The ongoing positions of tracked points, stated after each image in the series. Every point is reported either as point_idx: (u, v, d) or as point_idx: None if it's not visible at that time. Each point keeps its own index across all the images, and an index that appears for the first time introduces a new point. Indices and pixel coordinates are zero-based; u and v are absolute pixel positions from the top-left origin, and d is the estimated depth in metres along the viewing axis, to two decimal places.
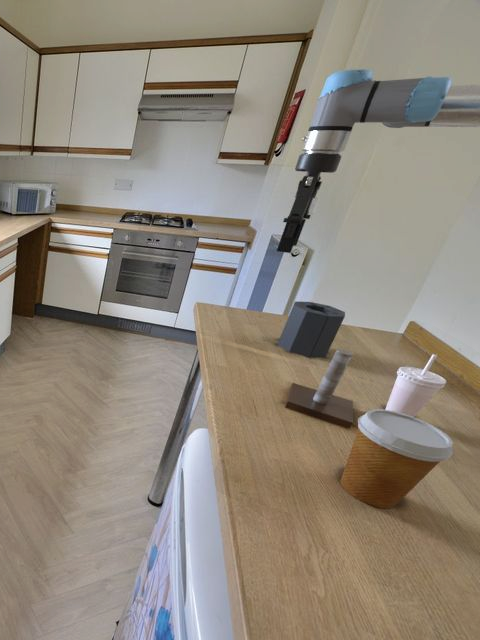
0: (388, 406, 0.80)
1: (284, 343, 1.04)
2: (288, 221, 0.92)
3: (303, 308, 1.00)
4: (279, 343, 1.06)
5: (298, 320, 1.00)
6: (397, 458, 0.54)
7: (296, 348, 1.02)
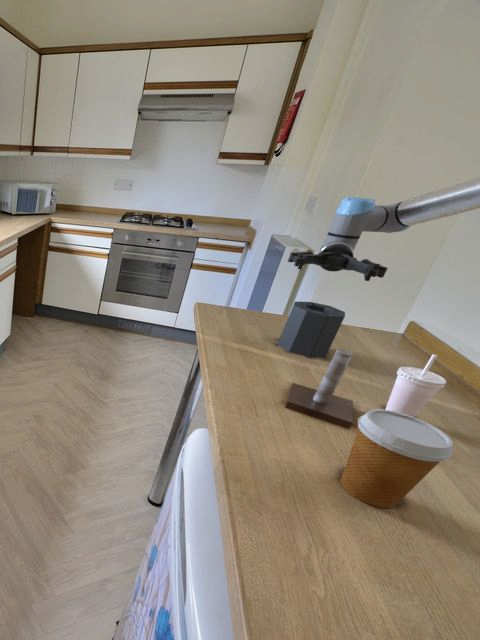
0: (388, 406, 0.80)
1: (284, 343, 1.04)
2: None
3: (303, 308, 1.00)
4: (279, 343, 1.06)
5: (298, 320, 1.00)
6: (397, 458, 0.54)
7: (296, 348, 1.02)
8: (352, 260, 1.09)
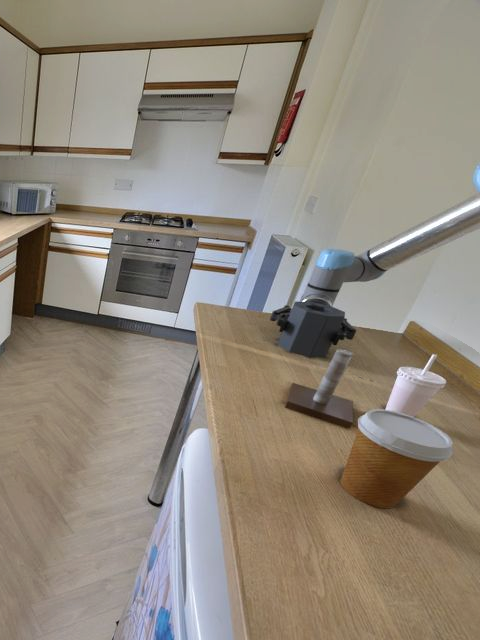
0: (388, 406, 0.80)
1: (284, 343, 1.04)
2: None
3: (303, 308, 1.00)
4: (279, 343, 1.06)
5: (298, 320, 1.00)
6: (397, 458, 0.54)
7: (296, 348, 1.02)
8: None
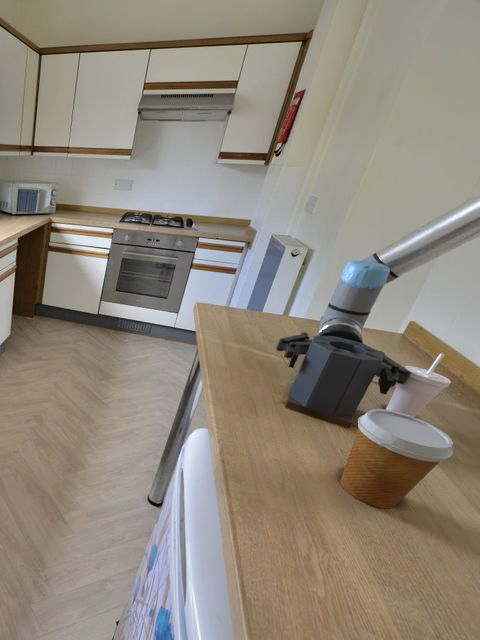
0: (390, 404, 0.80)
1: (300, 390, 0.80)
2: None
3: (326, 347, 0.76)
4: (293, 389, 0.82)
5: (320, 362, 0.76)
6: (397, 458, 0.54)
7: (317, 399, 0.77)
8: None
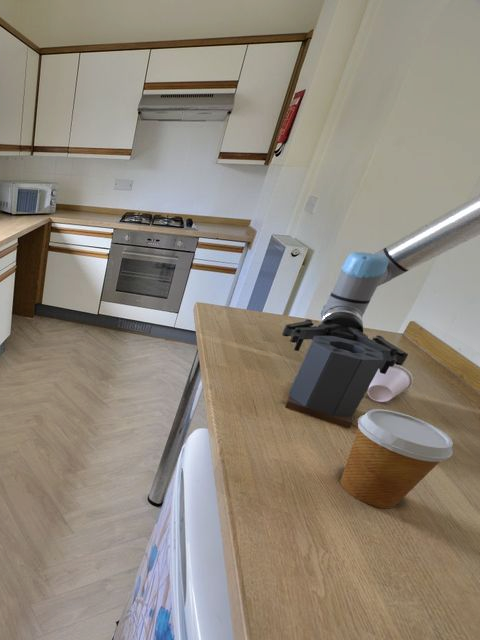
0: None
1: (300, 390, 0.80)
2: None
3: (326, 347, 0.76)
4: (293, 389, 0.82)
5: (320, 362, 0.76)
6: (397, 458, 0.54)
7: (317, 399, 0.77)
8: (362, 338, 0.88)
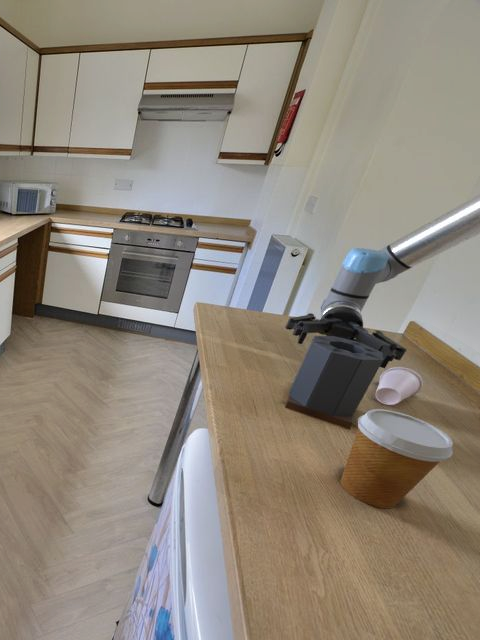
0: None
1: (300, 390, 0.80)
2: (294, 330, 0.94)
3: (326, 347, 0.76)
4: (293, 389, 0.82)
5: (320, 362, 0.76)
6: (397, 458, 0.54)
7: (317, 399, 0.77)
8: (362, 333, 0.90)
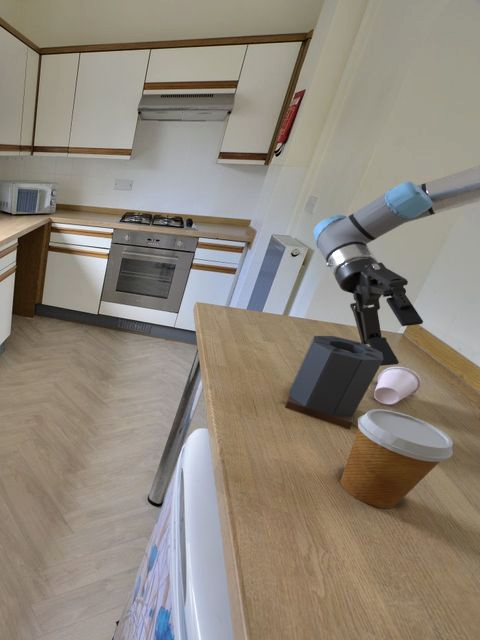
0: None
1: (300, 390, 0.80)
2: (390, 292, 0.78)
3: (326, 347, 0.76)
4: (293, 389, 0.82)
5: (320, 362, 0.76)
6: (397, 458, 0.54)
7: (317, 399, 0.77)
8: (376, 310, 0.88)
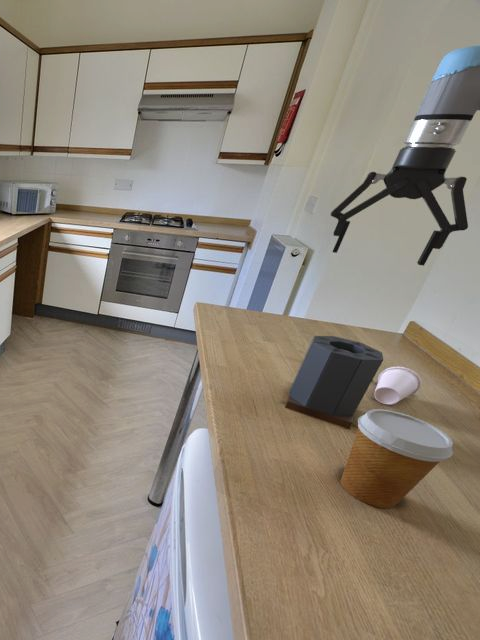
0: None
1: (300, 390, 0.80)
2: None
3: (326, 347, 0.76)
4: (293, 389, 0.82)
5: (320, 362, 0.76)
6: (397, 458, 0.54)
7: (317, 399, 0.77)
8: None
